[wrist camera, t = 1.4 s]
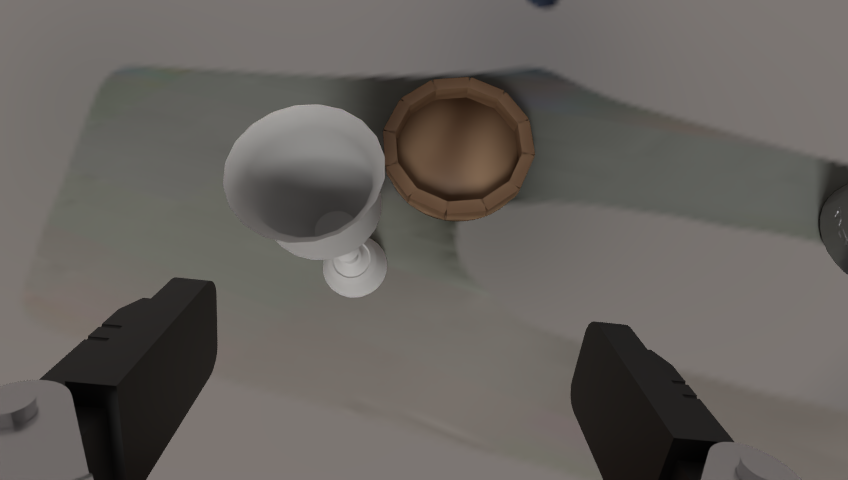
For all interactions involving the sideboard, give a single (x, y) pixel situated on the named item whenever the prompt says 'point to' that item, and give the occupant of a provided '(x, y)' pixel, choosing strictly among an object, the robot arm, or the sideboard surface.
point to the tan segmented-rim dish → (457, 148)
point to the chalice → (313, 190)
